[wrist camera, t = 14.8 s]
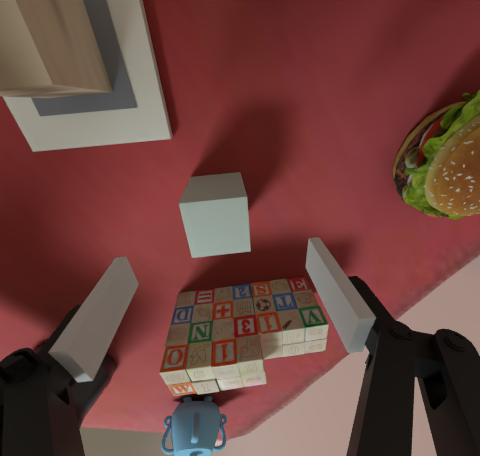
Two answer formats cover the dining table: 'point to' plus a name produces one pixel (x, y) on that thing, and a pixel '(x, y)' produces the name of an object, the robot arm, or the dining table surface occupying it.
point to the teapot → (194, 428)
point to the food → (443, 162)
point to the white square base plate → (104, 104)
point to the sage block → (216, 215)
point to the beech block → (49, 50)
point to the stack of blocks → (239, 334)
